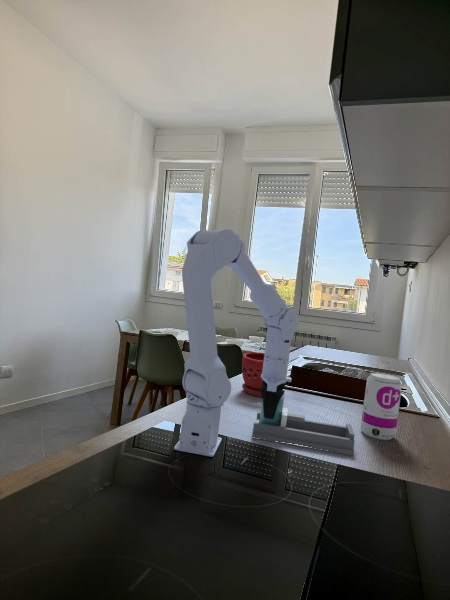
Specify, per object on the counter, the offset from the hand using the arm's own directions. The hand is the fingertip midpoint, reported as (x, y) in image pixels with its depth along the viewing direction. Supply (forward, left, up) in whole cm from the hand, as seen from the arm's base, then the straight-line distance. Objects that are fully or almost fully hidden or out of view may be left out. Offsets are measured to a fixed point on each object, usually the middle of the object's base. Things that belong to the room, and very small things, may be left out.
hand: (269, 414), depth 99 cm
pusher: (0, -5, -3) cm, 6 cm away
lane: (0, -7, -4) cm, 8 cm away
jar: (0, 0, -2) cm, 2 cm away
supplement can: (+12, -27, -4) cm, 30 cm away
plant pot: (+34, +5, -4) cm, 35 cm away
